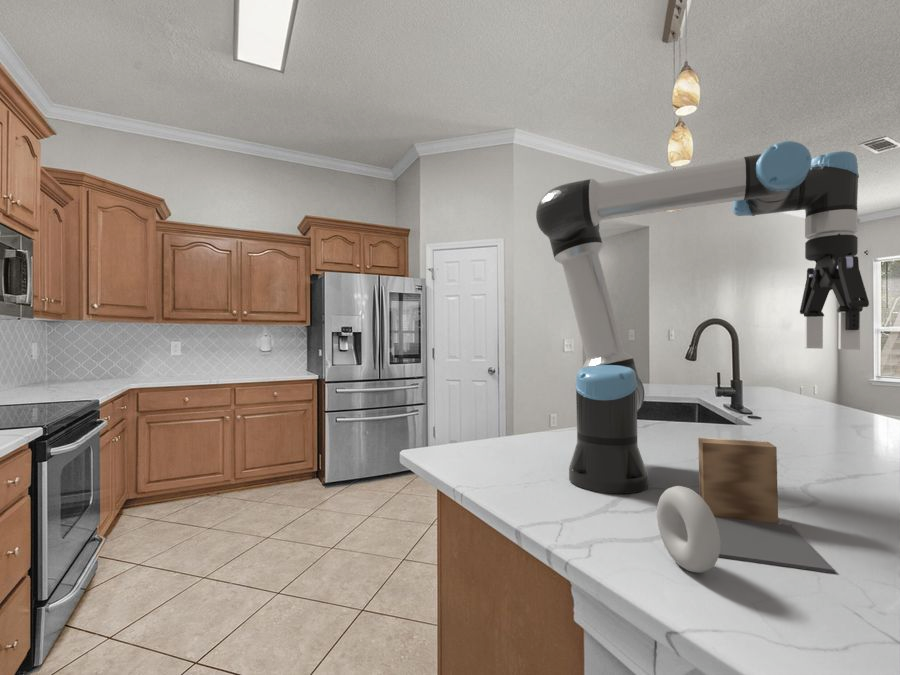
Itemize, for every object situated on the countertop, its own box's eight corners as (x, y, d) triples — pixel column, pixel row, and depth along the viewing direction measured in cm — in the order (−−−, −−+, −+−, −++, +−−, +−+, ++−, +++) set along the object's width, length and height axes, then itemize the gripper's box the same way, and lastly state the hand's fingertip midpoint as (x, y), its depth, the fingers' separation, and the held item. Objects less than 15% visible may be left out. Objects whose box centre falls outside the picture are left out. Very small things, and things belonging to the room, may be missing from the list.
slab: (704, 517, 71) (702, 442, 71) (699, 508, 74) (698, 437, 75) (778, 525, 67) (776, 447, 67) (769, 515, 71) (768, 441, 71)
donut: (652, 550, 59) (650, 476, 60) (676, 548, 60) (674, 475, 60) (700, 591, 49) (698, 502, 50) (728, 589, 50) (726, 501, 50)
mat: (711, 555, 58) (711, 552, 58) (694, 516, 71) (694, 514, 71) (834, 573, 53) (834, 569, 53) (791, 527, 66) (791, 525, 66)
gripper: (897, 218, 70) (897, 350, 70) (823, 249, 94) (823, 348, 93) (839, 222, 73) (839, 349, 72) (781, 251, 96) (781, 347, 96)
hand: (830, 349), depth 83 cm, fingers open, 13 cm apart
